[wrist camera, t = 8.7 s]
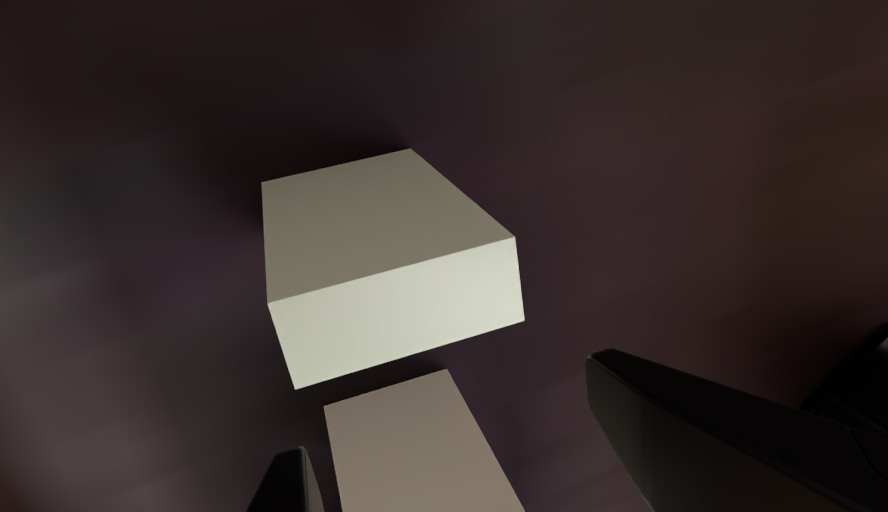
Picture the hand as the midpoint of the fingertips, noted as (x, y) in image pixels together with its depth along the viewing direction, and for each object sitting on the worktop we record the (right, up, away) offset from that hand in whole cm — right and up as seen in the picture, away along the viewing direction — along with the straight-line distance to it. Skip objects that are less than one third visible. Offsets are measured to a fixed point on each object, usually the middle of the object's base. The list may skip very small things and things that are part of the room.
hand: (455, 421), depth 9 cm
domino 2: (-2, -4, +15) cm, 15 cm away
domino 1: (-4, +5, +11) cm, 13 cm away
